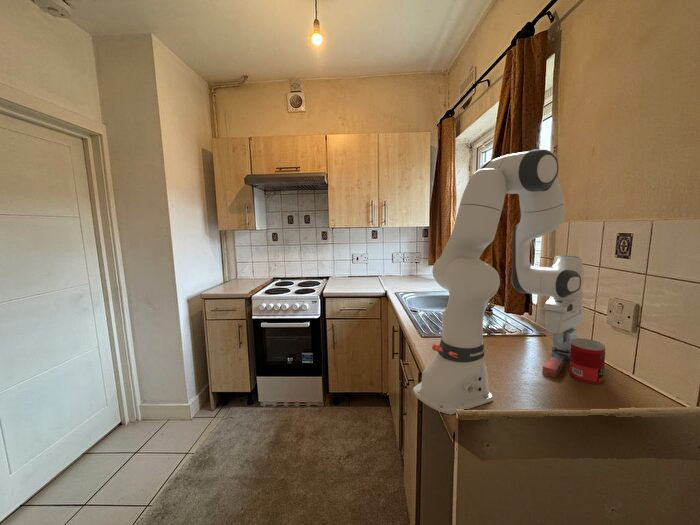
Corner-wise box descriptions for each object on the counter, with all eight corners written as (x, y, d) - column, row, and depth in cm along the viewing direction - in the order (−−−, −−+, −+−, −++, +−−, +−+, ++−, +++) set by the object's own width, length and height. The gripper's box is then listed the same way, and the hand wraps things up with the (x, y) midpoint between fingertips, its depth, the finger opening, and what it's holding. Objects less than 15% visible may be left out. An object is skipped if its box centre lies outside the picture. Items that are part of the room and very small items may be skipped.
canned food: (606, 386, 81) (608, 350, 80) (570, 380, 85) (572, 345, 84) (600, 374, 88) (602, 340, 86) (567, 369, 92) (569, 336, 90)
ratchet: (562, 380, 85) (563, 363, 85) (535, 372, 91) (536, 356, 90) (578, 356, 100) (578, 341, 99) (554, 350, 105) (554, 336, 104)
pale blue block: (569, 351, 96) (570, 333, 96) (553, 346, 101) (553, 329, 100) (576, 347, 99) (576, 329, 98) (559, 343, 103) (560, 325, 102)
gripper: (568, 295, 106) (567, 330, 107) (541, 305, 95) (540, 344, 97) (589, 298, 100) (588, 335, 102) (563, 309, 90) (562, 350, 91)
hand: (564, 340), depth 99 cm, fingers closed on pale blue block, 5 cm apart
